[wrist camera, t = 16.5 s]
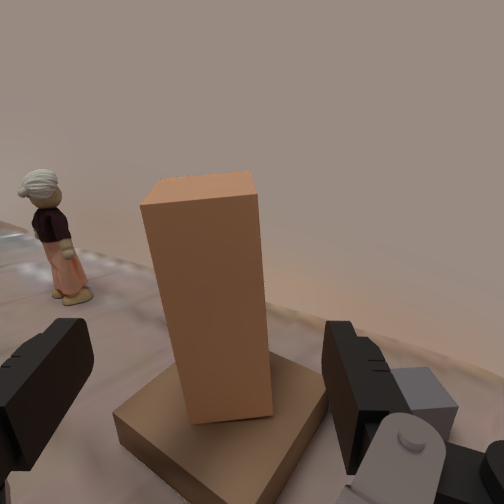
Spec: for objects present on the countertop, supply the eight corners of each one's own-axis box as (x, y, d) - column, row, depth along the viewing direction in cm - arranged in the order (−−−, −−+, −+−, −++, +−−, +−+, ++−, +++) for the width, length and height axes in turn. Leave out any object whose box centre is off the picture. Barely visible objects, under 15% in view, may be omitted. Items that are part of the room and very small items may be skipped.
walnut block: (121, 449, 19) (112, 412, 18) (219, 359, 26) (218, 328, 25) (247, 557, 15) (246, 517, 14) (327, 414, 22) (332, 379, 20)
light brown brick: (190, 424, 17) (139, 205, 12) (196, 364, 21) (160, 178, 16) (273, 415, 18) (257, 193, 12) (264, 356, 22) (249, 170, 16)
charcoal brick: (329, 408, 22) (333, 372, 20) (418, 402, 22) (427, 366, 21) (344, 452, 19) (350, 414, 18) (445, 444, 19) (458, 406, 18)
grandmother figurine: (110, 294, 34) (85, 169, 29) (77, 313, 31) (41, 177, 26) (64, 277, 38) (34, 163, 33) (30, 292, 35) (-10, 169, 30)
